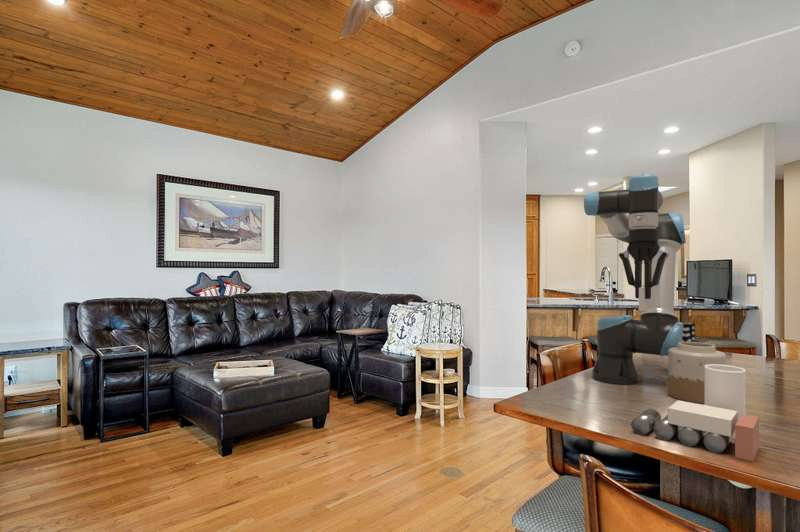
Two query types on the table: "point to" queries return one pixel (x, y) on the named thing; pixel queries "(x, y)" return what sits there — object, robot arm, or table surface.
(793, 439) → the table surface
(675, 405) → the board
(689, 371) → the vase
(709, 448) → the rollers
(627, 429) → the table surface
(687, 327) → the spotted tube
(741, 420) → the block
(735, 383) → the cup
